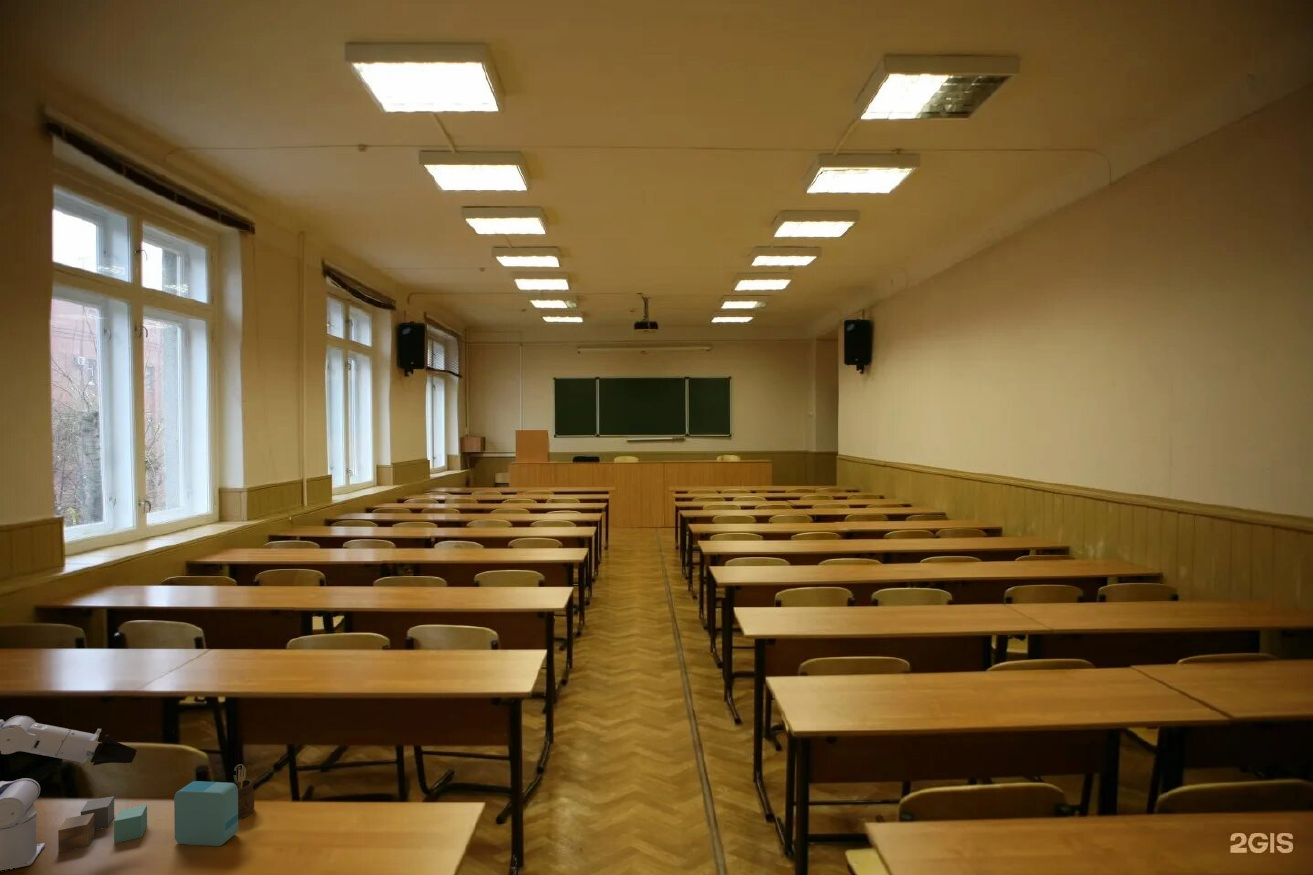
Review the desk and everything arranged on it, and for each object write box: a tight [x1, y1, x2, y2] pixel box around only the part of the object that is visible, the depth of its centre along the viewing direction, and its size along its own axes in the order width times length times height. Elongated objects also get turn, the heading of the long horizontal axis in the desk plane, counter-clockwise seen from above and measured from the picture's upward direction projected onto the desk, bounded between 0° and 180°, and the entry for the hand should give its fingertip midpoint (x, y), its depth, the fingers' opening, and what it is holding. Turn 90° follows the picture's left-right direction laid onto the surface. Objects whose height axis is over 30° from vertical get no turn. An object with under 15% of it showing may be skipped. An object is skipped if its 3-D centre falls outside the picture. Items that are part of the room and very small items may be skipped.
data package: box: [173, 780, 239, 847], centre depth 153 cm, size 12×4×12 cm, turn 85°
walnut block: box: [57, 813, 95, 853], centre depth 151 cm, size 5×5×5 cm
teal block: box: [113, 804, 148, 844], centre depth 155 cm, size 5×5×5 cm
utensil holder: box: [233, 763, 255, 820], centre depth 163 cm, size 6×6×12 cm
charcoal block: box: [80, 796, 115, 831], centre depth 158 cm, size 5×5×5 cm
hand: (134, 756), depth 154 cm, fingers open, 7 cm apart
